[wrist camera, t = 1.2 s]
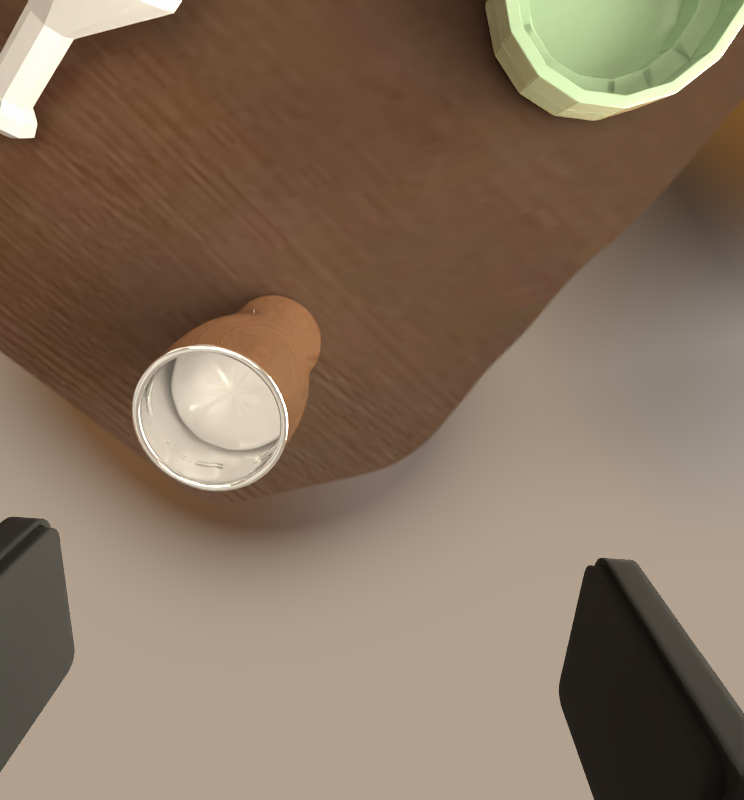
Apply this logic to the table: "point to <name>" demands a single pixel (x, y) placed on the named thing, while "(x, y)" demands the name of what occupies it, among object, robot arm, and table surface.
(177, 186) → the table surface
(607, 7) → the sage bowl
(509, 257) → the table surface
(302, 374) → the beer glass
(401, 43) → the table surface
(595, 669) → the robot arm
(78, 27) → the chicken leg
